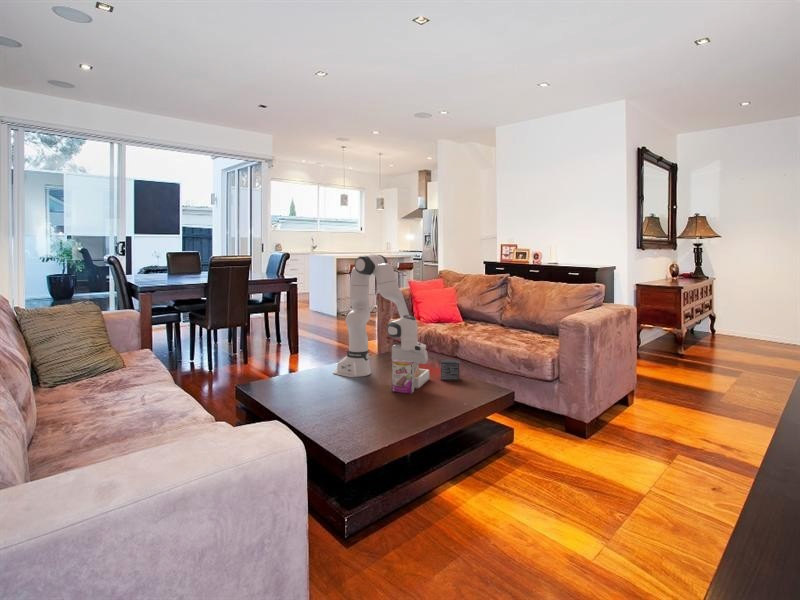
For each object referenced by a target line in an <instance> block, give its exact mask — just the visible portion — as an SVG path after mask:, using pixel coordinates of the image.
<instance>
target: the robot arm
mask: <svg viewBox="0 0 800 600" xmlns="http://www.w3.org/2000/svg"><path fill="white" fill-rule="evenodd" d="M350 273H351V274H350V280H349V300H350V306H351V310H350V311H349V312H348V313H347V315H346V317H345V323H346V327H347V333H348V344H349V345H348V346H349V349H348V350H347V351H345V354H346V356H344V357H343V358H341V359H340V360H339V361H338V362H337V364H336V365H337V366H336V368H335V369H334V370H333V371H332V372H333V373H332V374H334V375H338V376H343V377H346V378H357V377H367V376H370V375H371V374H372V372H371V368H370V367H371V366H370V362H369V360H370V351H369V336H368V333H367V323H369V321H370V319H371V309H370V307H371V306H370V299H369V298H370V297H369V296H370V295H369V294H370V278H371V276H372V275H373V276H374V277H375V279H376V283H377V289H378V292H379V294H380V296H381V297H382V298H383V299H385V300H388V301H390V302H392V303H394V305H395V306H396V309H397V311H398V314H399V317H400V318H398V319H396V320H392V321H390V322H388V323H387V325H386V334H387V336H388V337H390V338H392V339H398V338H400V340H401V342H400V344H395V343H394V344H393V345H391V351H392V352H391V362H392V361H393V360H395V359H397V360H406V361H414V362H415V365H416V367H415V369H414V371H417V367H418V366H419V365H420V364H421V365H425V364H427V363H428V362H429V354H428V351H427V345H426V344H424V343H422V342H420V341H418V322H417V318H416V317H415V316H413V315H411V313H410V310H409V307H408V303H407V300H406V298H405V295H404V293H403V291H401V288H400V287H399V282H398V279H397V275H396V273H395V270H394V268H393V265H392V264H391V263H388V259H387V258H386V257H385V256H384V255H382V254H366V255H365V254H364V255H360V256H358V257H357V258H356V259H355V260H354V267H353V268H352V270H351V272H350Z"/></svg>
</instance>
